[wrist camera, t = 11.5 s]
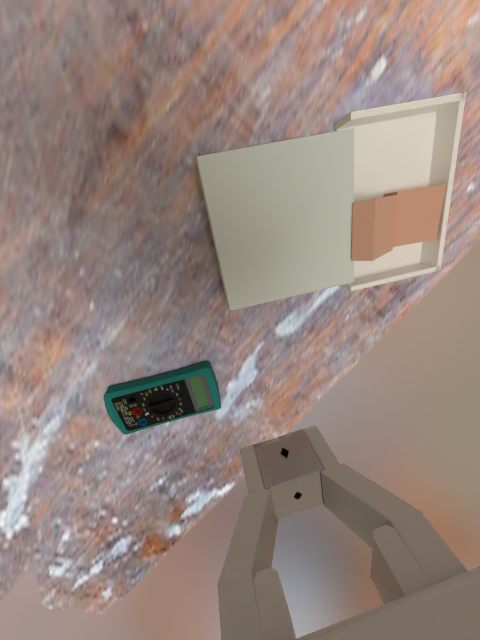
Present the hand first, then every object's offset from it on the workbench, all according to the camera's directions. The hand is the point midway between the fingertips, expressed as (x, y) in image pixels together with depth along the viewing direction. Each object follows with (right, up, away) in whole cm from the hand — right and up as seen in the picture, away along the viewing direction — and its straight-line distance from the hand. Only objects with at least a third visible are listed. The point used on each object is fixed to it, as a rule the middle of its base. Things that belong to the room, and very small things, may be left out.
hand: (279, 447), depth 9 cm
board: (+3, +16, +19) cm, 25 cm away
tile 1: (+19, +17, +19) cm, 32 cm away
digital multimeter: (-12, -5, +26) cm, 29 cm away
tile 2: (+13, +15, +19) cm, 27 cm away
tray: (+16, +19, +21) cm, 32 cm away
